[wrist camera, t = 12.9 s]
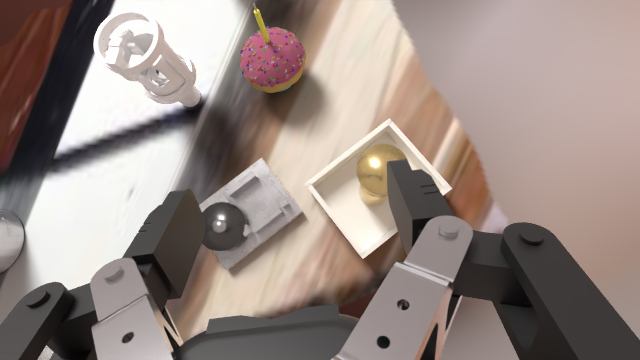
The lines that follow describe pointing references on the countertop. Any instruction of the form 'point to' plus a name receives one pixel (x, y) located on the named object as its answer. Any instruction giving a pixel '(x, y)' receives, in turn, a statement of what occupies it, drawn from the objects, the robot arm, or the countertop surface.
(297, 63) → the cupcake
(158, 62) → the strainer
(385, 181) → the gold mushroom peg
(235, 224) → the tensioner plate
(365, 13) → the countertop surface
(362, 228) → the tray
